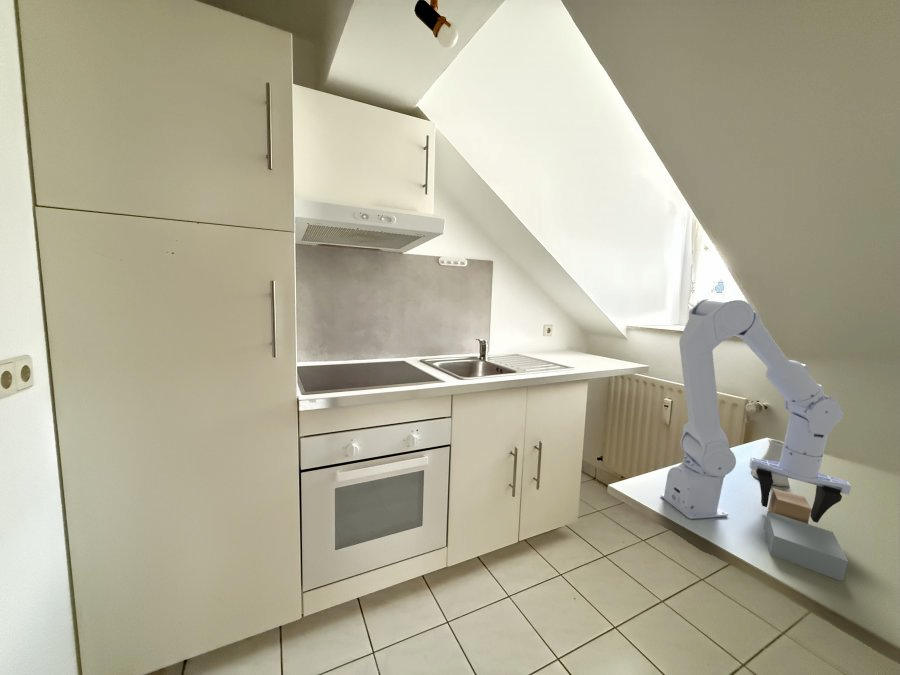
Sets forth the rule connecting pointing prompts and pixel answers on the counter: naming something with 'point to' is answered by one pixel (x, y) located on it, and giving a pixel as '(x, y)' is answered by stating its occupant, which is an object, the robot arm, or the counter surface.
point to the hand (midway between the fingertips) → (788, 511)
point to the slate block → (805, 545)
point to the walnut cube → (789, 505)
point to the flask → (775, 455)
